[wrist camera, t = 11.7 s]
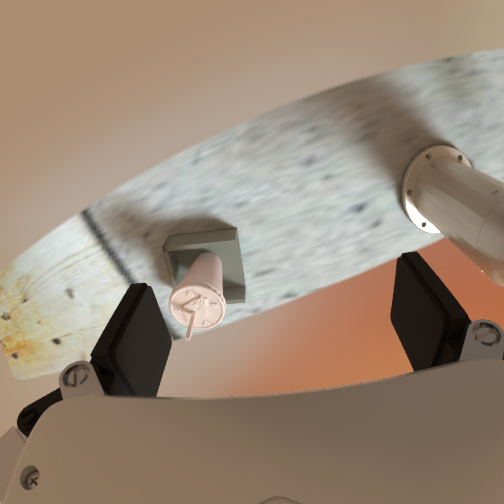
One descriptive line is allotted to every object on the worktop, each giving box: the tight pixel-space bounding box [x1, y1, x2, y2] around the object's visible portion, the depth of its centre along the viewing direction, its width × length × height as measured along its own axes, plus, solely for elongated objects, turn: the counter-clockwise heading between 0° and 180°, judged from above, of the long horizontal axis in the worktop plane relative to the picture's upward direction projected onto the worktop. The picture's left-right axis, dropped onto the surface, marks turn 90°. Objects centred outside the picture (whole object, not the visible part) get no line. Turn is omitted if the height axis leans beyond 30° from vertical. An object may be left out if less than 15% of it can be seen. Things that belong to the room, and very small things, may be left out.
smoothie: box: [169, 252, 226, 341], centre depth 36 cm, size 6×6×14 cm
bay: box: [162, 228, 246, 304], centre depth 41 cm, size 9×9×4 cm
